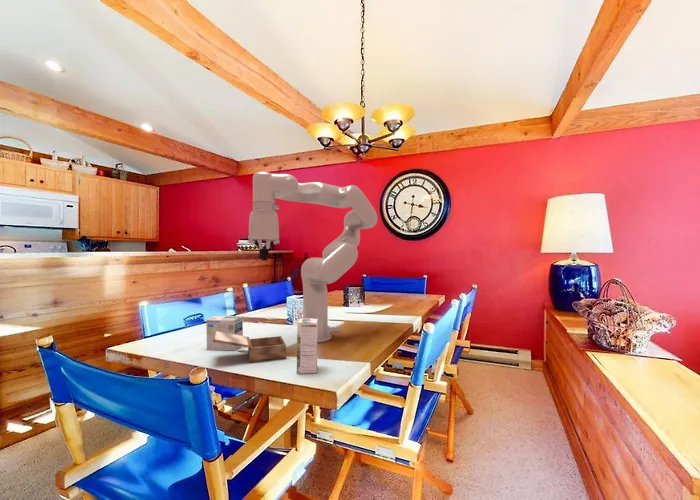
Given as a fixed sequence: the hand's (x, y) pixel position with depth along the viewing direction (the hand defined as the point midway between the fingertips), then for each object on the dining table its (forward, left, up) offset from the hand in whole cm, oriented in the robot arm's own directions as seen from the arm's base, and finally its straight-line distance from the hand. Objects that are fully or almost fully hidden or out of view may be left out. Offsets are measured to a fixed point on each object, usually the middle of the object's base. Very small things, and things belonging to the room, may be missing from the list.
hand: (264, 260), depth 114 cm
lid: (+10, +8, -24) cm, 28 cm away
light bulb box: (+13, -6, -31) cm, 35 cm away
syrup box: (-10, +25, -31) cm, 41 cm away
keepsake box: (0, +8, -31) cm, 32 cm away
